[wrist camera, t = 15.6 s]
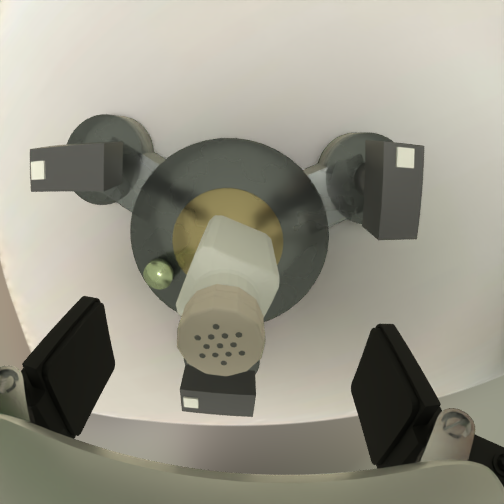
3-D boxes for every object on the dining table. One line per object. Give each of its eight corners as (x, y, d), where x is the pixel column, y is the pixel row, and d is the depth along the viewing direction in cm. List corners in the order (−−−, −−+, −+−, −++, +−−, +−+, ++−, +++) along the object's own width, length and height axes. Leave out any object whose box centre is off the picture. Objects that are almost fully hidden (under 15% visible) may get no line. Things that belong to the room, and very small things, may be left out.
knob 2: (385, 217, 19) (417, 240, 15) (352, 218, 19) (379, 241, 15) (389, 142, 17) (425, 146, 13) (354, 139, 17) (385, 141, 13)
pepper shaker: (274, 234, 19) (296, 321, 10) (248, 287, 20) (249, 394, 11) (213, 209, 18) (183, 279, 10) (191, 264, 20) (153, 363, 11)
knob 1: (134, 140, 17) (102, 143, 13) (133, 178, 18) (102, 192, 14) (68, 143, 17) (28, 149, 12) (68, 179, 17) (29, 192, 13)
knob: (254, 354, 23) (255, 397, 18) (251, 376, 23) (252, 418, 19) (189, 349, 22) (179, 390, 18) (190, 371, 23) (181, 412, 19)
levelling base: (399, 141, 19) (419, 143, 17) (344, 371, 27) (352, 393, 24) (82, 118, 18) (60, 118, 16) (103, 352, 26) (92, 373, 23)
